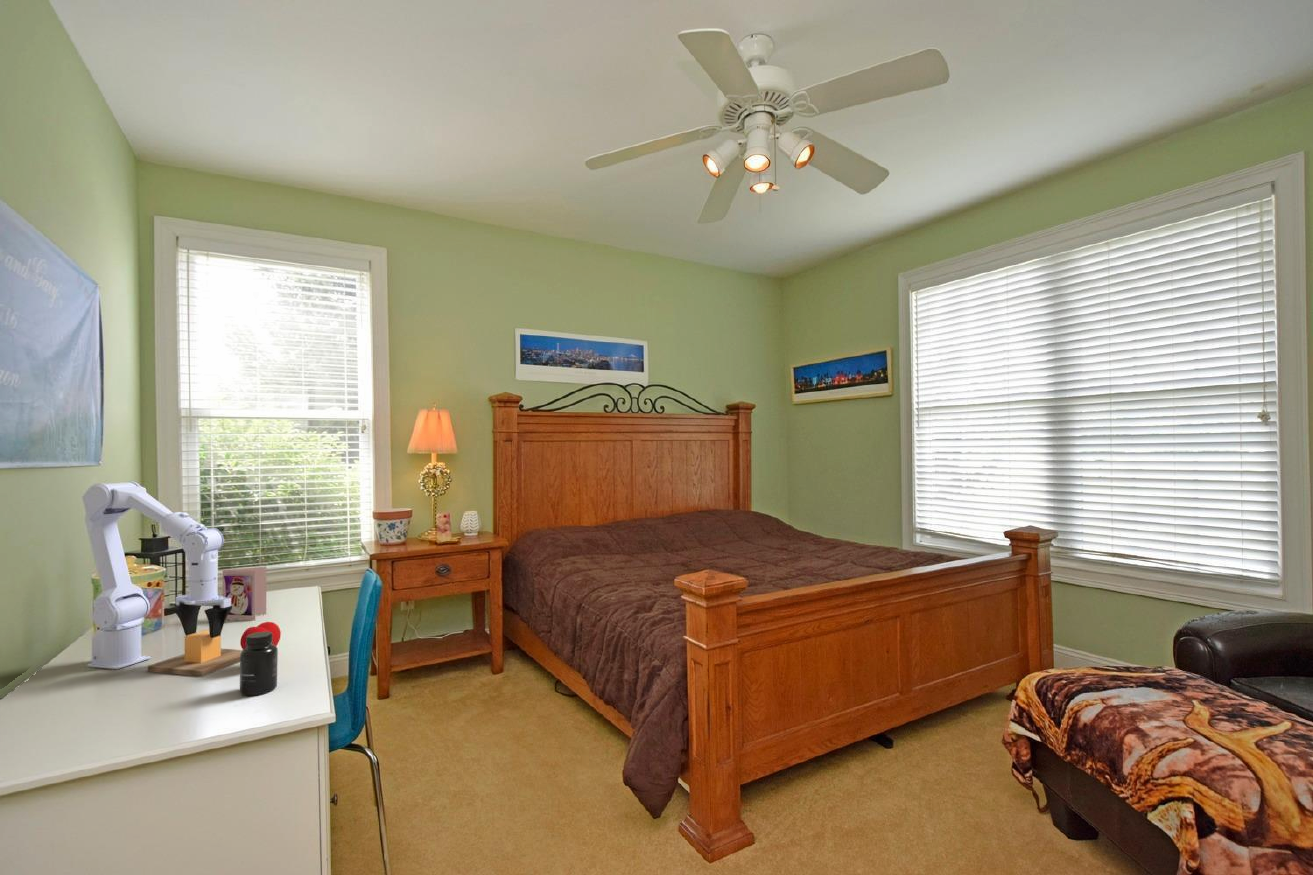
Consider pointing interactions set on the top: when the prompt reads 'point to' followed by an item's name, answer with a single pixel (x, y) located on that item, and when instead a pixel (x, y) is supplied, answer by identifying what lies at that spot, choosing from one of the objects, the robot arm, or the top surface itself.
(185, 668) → the post board
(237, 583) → the greeting card
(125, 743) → the top surface
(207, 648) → the orange wooden cube
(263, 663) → the supplement bottle
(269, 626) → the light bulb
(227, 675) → the top surface
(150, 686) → the top surface
